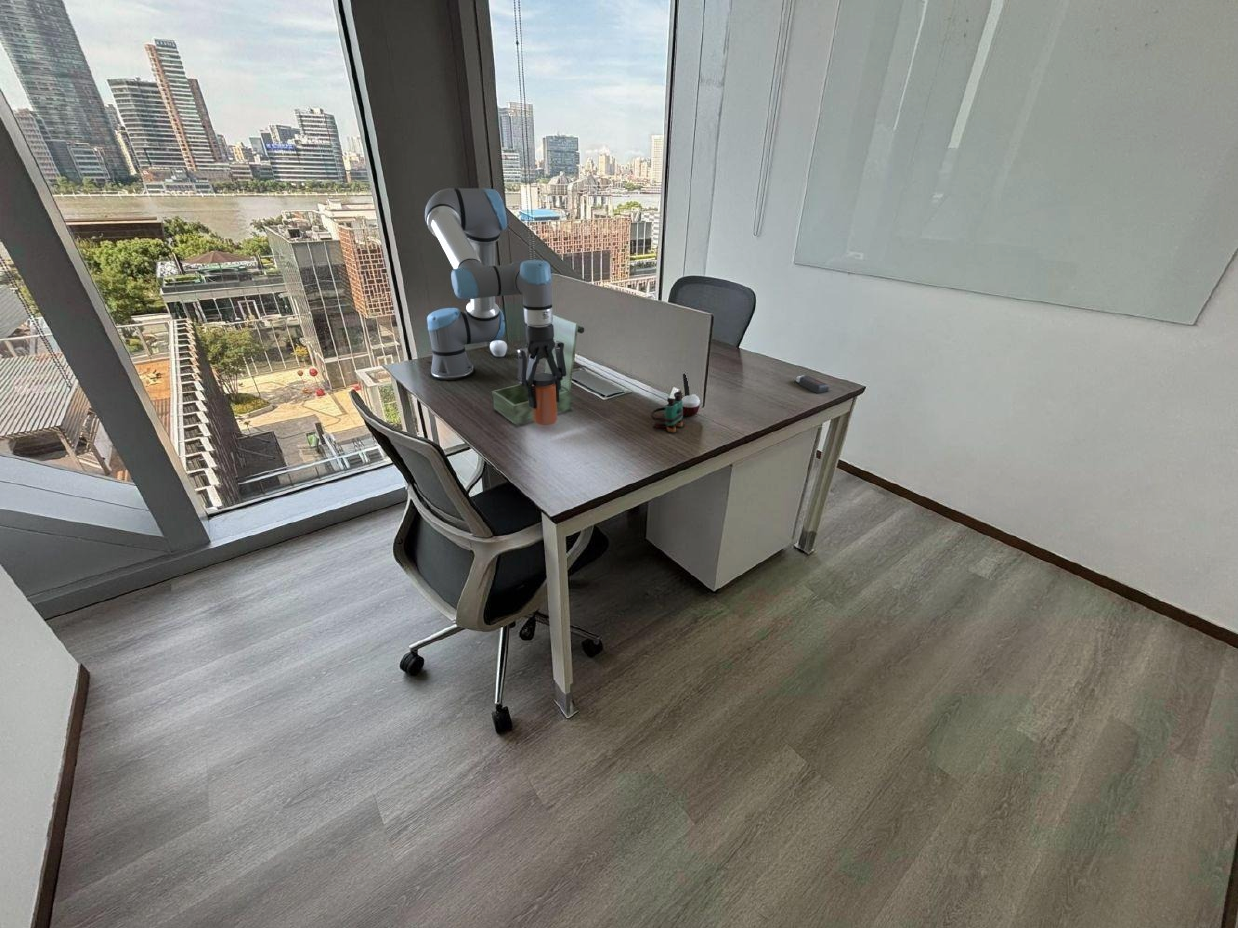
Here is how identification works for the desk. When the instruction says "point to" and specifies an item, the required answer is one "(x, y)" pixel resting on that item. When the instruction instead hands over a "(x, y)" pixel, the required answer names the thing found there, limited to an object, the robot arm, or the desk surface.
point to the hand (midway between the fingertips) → (544, 403)
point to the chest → (522, 403)
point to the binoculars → (670, 414)
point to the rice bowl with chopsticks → (689, 401)
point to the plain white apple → (498, 348)
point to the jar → (545, 399)
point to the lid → (565, 346)
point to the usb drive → (812, 384)
